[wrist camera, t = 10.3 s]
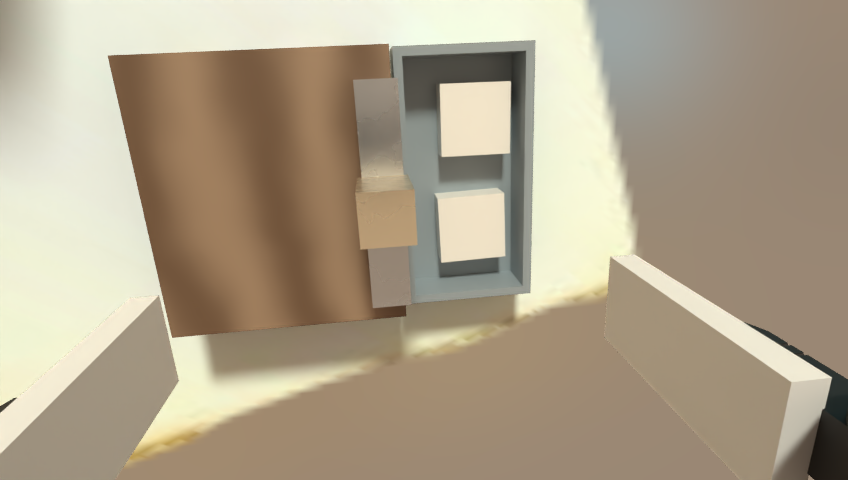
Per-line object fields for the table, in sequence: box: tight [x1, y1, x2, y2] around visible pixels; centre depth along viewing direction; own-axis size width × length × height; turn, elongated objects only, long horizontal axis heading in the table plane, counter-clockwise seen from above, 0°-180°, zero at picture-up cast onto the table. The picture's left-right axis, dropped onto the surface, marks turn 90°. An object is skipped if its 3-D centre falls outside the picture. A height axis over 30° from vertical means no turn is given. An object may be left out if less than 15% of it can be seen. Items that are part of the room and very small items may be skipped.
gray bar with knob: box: [353, 78, 418, 308], centre depth 28 cm, size 3×14×7 cm, turn 3°
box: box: [390, 40, 535, 304], centre depth 36 cm, size 9×18×4 cm, turn 3°
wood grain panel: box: [108, 44, 406, 338], centre depth 34 cm, size 16×18×6 cm
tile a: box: [434, 188, 505, 263], centre depth 38 cm, size 5×5×2 cm
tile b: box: [436, 81, 511, 157], centre depth 35 cm, size 5×5×2 cm
